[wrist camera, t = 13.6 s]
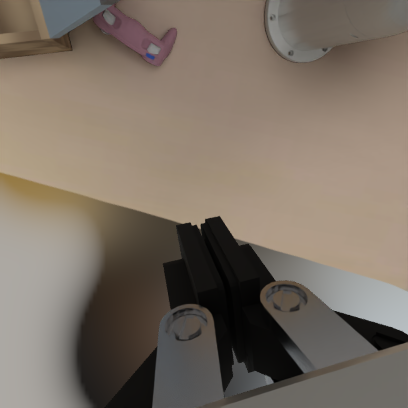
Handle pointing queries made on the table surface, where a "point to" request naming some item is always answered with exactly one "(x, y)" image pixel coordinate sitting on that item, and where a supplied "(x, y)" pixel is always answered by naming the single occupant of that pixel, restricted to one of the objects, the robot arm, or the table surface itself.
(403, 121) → the table surface
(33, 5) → the wooden box
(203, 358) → the robot arm
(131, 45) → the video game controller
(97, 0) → the lid flap
